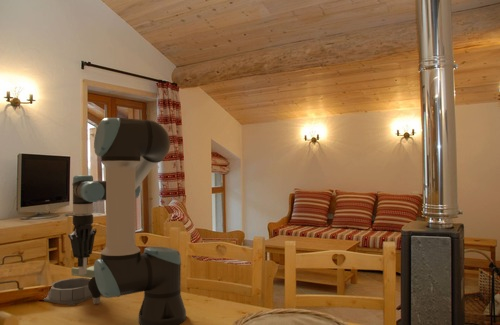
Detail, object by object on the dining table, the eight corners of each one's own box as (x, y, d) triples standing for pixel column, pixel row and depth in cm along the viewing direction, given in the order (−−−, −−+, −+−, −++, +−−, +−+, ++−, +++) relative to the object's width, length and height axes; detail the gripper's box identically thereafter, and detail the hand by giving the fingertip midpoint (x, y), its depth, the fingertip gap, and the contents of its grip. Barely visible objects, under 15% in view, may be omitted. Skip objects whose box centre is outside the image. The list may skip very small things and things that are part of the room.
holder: (103, 292, 162) (103, 280, 162) (72, 305, 147) (72, 292, 147) (71, 288, 168) (71, 276, 168) (38, 300, 153) (38, 287, 153)
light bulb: (99, 307, 145) (99, 279, 145) (84, 306, 146) (84, 278, 146) (107, 302, 151) (107, 274, 151) (93, 301, 152) (93, 274, 152)
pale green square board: (128, 269, 177) (128, 262, 177) (103, 279, 162) (103, 271, 162) (98, 266, 183) (98, 259, 183) (71, 275, 168) (71, 268, 168)
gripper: (87, 212, 170) (87, 269, 170) (62, 215, 158) (62, 277, 158) (102, 212, 167) (101, 271, 167) (78, 216, 155) (77, 279, 155)
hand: (82, 274), depth 163 cm, fingers closed
